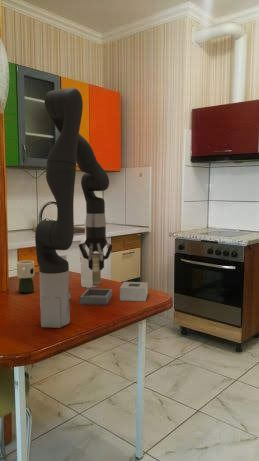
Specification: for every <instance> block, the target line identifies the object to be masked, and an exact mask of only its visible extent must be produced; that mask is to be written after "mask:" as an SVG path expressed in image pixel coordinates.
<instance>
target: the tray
mask: <svg viewBox="0 0 259 461" xmlns="http://www.w3.org/2000/svg"><path fill="white" fill-rule="evenodd" d="M112 298H113V289H112V288H110V289H109V288H105V289H104V288H86V290H85V291H84V292H83V293H82V294H81V295H80V299H79V301H80V303H79V304H80V305H81V306H82V305H83V306H84V305H85V306H107V305H108V304H109V303H110V301H111V299H112Z"/></svg>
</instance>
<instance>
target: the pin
mask: <svg viewBox="0 0 259 461" xmlns="http://www.w3.org/2000/svg"><path fill="white" fill-rule="evenodd" d="M91 257H92V279H93V286H97V287H100V286H101V285H102V284H101V282H102V281H101V278H102V277H101V275H102V274H101V273H102V272H101V271H102V270H100V255H99V253H94V254H92V255H91Z"/></svg>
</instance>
